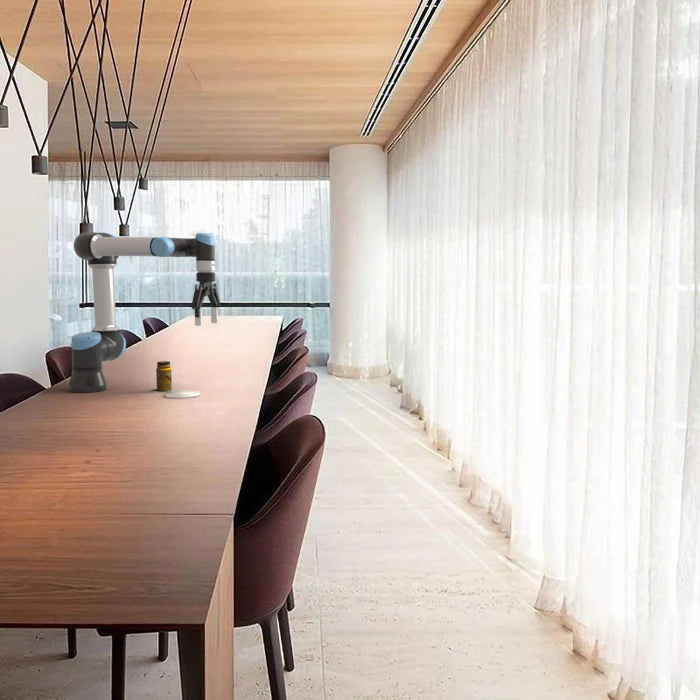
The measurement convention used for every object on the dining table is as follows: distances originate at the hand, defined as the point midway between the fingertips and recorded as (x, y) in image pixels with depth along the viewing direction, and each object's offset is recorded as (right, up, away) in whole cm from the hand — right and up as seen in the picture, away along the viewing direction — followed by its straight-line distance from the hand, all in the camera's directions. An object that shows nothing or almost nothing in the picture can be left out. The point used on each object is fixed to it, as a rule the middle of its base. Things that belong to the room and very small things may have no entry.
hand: (206, 324), depth 318 cm
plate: (-8, -29, -8) cm, 31 cm away
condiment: (-19, -27, +4) cm, 34 cm away
